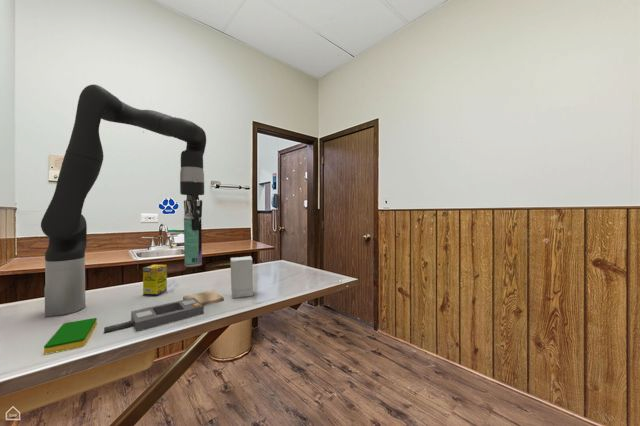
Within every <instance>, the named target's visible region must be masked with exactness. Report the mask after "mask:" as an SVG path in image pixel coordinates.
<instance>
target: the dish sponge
mask: <svg viewBox="0 0 640 426" xmlns="http://www.w3.org/2000/svg"><path fill="white" fill-rule="evenodd" d="M97 324H98V319H97V317H94V318H93V317H92V318H87V319H80V320H75V321H68V322H65V323H63V324H61V326H59V328H58V329H57V330H56V331H55V332H54V334H53V335H52V336H51V337H50V338H49V340H48V341H47V342H46V343H45V345H44V346H43V353H44V355H47V354H46V353H50V354H52V353H51V352H55V353H57V352H56V351H60V352H63V351H62V350H64V351H68V350H67V349H69V350H74V349H77V348H82V347H84V346H86V344H87V343H88V341H89V339H90V338H91V335H92V333H93V332H94V330H95V329H96V327H97ZM73 348H74V349H73Z"/></svg>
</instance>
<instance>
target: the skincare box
mask: <svg viewBox="0 0 640 426" xmlns="http://www.w3.org/2000/svg"><path fill="white" fill-rule="evenodd" d="M253 267H254V266H253V257H252V256H251V255H249V256H248V255H247V256H240V257H238V256H237V257H230V282H231V283H230V285H231V288H230V289H231V291H230V292H231V299H237V298H238V299H239V298H244V297H251V296H254V280H253V278H254V275H253V274H254V272H253V271H254V270H253Z"/></svg>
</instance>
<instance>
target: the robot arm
mask: <svg viewBox="0 0 640 426" xmlns="http://www.w3.org/2000/svg"><path fill="white" fill-rule="evenodd" d="M77 100H78V101H77V106H76V113H75V120H74V123H73V128H72V131H71V135H70V139H69V142H68V146H67V148H66V150H65V153H64V156H63V159H62V163H61V167H60V170H59V173H58V177H57V181H56V186H55V190H54V192H53V196H52V198H51V200H50V202H49V204H48V206H47V209H46V210H45V212H44V215H43V217H42V218H41V221H40V229H41V231H42V233H43V234H44V235H45V236H47V237H48V245H47V249H46V251H45V253H44V265H45V266H44V267H45V269H44V270H45V271H44V275H45V276H44V277H45V282H44V283H45V284H44V318H45V317H50V316H51V317H53V316H54V317H56V316H57V317H58V316H64V315H69V314H72V313H75V312H79V311H81V310H83V309H85V307H86V254H85V253H86V248H87V238H88V237H87V236H88V235H87V232H88V231H87V230H88V229H87V228H88V227H87V226H88V225H87V220H86V218H85V216H84V215H83V214H82V212H83V208H84V204H85V200H86V197H88V194H89V192H90V191H91V190H92V188H93V186H94V184H95V183H96V181H97V179H98V177H99V175H100V172H101V169H102V166H103V163H104V151H103V145H102V141H101V137H100V125H101V121H102V120H103V121H106V122H111V123H116V124H117V123H118V124H125V125H128V126H133V127H137V128H140V129H144V130H147V131H150V132H152V133H153V132H154V133H155V134H159V135H162V136H166V137H168V138H169V137H170V138H174V139H177V140H180V141H182V142H185V143H186V147H185V150H183V151H181V153H180V172H179V194H180V195H182V196H186V200H183V209H184V215H186V214H187V213H188V212H189V213H190V214H191V218H192V219H193V220H192V230H193V231H196V230H199V219H200V218H201V219H202V216H203V215H202V213H203V200H202V199H200V198H199V196H204V195H205V172H204V155H205V150H206V145H207V134H206V132H205V130H204V129H203V127H200V126H199V125H198V124H196V123H195V122H193V121H191V120H188V119H185V118H182V117H174V116H171V115H168V114H166V113H163V112H160V111H156V110H152V109H138V108H135V107H133V106H131V105H129V104H127V103H125V102H123V101H121V100H120V99H119V98H118V97H117V96H115V95H114V94H112V93H111V92H110V91H108V90H107V89H106V88H104V87H103V86H101V85H97V84H89V85H86V86H85V87H84V88H83V89H82V90H81V92H80V94H79V98H78V99H77ZM196 213H197V214H196ZM184 215H183V216H184Z"/></svg>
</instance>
